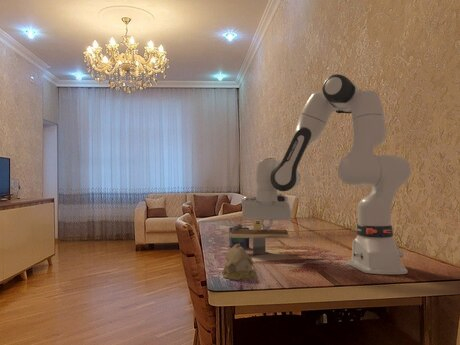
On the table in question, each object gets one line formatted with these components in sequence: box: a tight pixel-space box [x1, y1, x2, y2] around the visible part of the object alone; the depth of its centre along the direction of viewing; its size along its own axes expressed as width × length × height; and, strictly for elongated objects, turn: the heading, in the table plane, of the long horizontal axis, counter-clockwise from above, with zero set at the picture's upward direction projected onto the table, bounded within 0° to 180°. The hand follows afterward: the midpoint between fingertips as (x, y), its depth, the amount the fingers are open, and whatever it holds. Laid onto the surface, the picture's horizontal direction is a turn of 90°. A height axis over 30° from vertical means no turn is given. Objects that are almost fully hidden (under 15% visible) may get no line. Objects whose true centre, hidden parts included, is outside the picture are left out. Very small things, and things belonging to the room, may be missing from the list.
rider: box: [253, 220, 262, 231], centre depth 168 cm, size 3×3×5 cm
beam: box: [230, 225, 290, 255], centre depth 168 cm, size 6×24×11 cm, turn 86°
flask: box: [228, 222, 250, 249], centre depth 182 cm, size 9×3×11 cm, turn 73°
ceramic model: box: [222, 243, 257, 281], centre depth 130 cm, size 14×11×10 cm
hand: (266, 230), depth 168 cm, fingers closed
